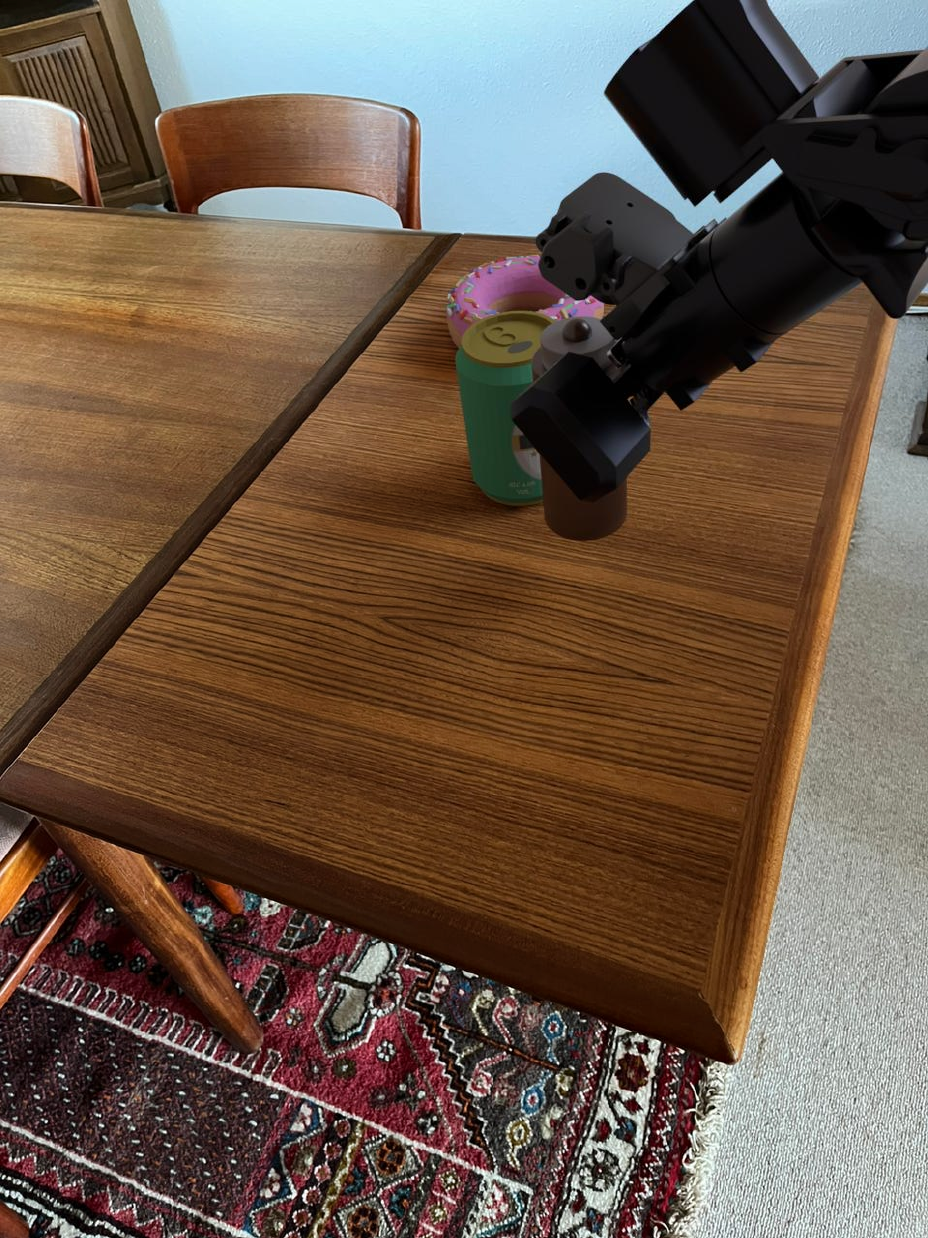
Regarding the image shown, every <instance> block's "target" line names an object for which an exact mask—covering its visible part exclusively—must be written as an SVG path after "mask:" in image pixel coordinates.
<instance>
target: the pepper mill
mask: <svg viewBox="0 0 928 1238" xmlns="http://www.w3.org/2000/svg"><path fill="white" fill-rule="evenodd" d="M600 320H601V319H599V318H595V317H587V316H579V317H570V318H566V319H562V320H559V321H557V322H554V323H552V324H551V325H549V326H548V327H547V328H545V329H544V331H543V332H542V334H541V337H540V341H541V347H540V348H539V349H538V350H537V351H536V352H535V354H534V355H533V358H532V361H531V366H532V377H533V383H534V382H535V381H536V380H537V379H538V378H539V377H540V376H541V375H542V374H543V373H545V372H546V371H547V370H548V369H549V368H550V367H551V366H552V365H554V364H555V363H556V362H557V361H558V360H559V359H561V358H562V357H563V356H564V355H565V354H566V353H568V352H573V353H577V354H581V355H585V356H589V357H593V359H594V360H595V361H596V362H597V364H598V365H599V366H600V367H601V368H602V370H603V371H604V372H605V373H606V374H607V375H608V376H609V377H610V379H611V380H612V381H613V380H614V379H615V378H616V377H617V376H618V375H619V374H620V373H621V372H622V371H623V370H624V369H625V368H626V362H625V363H624V365H623V366H621V367H620V368H618V367H616V366H615V365H614V364H613V363H612V362H611V360H610V359H609V358H608V356H607V352H608V350H609V349H610V348H611V347H613V346H614V345H615V344H616V343H617V342H618V341H617V340H615V339H614V338H613V337H612V336H611V335H610V333H609V332H608V331H607V330H606V329H605V327H604V326H603V325H602V324H601V322H600ZM539 457H540V468H541V480H542V491H543V502H542V503H543V511H544V513H543V514H544V521H545V523H546V525H547V527H548V529H550V530H551V532H553V534H556V535H557V536H559V537H561V538H564V539H567V540H569V541H576V542H590V541H591V542H592V541H597V540H600V539H603V538H607V537H609V536H610V535H612V534H614V533H615V532H617V531H619V529H621V527H622V526H623V525H624V524H625V522H626V519H627V517H628V476H627V477H626V479H625V480H624V481H623V482H622V483H621V484H620V485H619V487H618V488H617V489H616V490H614V491H612V492H610V493H609V494H607V495H605V496H604V497H602V498H600V499H598V500H597V501H595V502H593V503H592V502H586V501H580V500H579V499H578V498H577V497H576V495H575V494H574V493H573V492H572V491H571V490H570V488H569V487H568V486H567V485H566V484H565V483H564V481H563V480H562V479H561V478H560V477H559V475H558V474H557V473H556V472H555V471H554V470H553V468H552V467H551V466H550V465H549V464H548V462H547V461H546V460H545V459H544V458H543V457H542V455H540V454H539Z"/></svg>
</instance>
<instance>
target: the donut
mask: <svg viewBox="0 0 928 1238" xmlns="http://www.w3.org/2000/svg"><path fill="white" fill-rule="evenodd" d="M540 257H541V255H539V254H529V255H526V256H524V255H517V256H506V257H504V258H499V259H496V262H494V261H493V260H492V261H490V262H489V261H488V262H485V263H482V264H481V265H478V267H476V268H473V269H471V270H470V271H469V272H467V273H466V274H465V275H464V276H461V277H460V279H459V280H458V282H457V283H456V284H454V288H453V289H451V290H449V291H448V294H447V299H446V303H447V305H446V306H445V310H446V314H445V317H446V324H447V328H448V332H449V335H450V337H451V338H452V341H453V343H454V344H455V345H456V347H457V348H458V349H459V348H460V346H461V344H462V341H461V340H462V336H463V334H464V332H465V331H466V330H467V329H468V328H469V327H470V326H471V325H472V324H474V323H475V322H477V321H479V320H481V319H483V318H485V317H488V316H490V315H494V314H497V313H502V312H508V311H531V312H537V313H541V314H544V315H547V316H549V317H551V318H552V319H554V320H555V321H556V322H557V321H559V320H562V319H566V318H570V317H579V316H587V317H595V318H599V319H602V318H603V317H604V314H605V312H604V311H605V304H604V303H602V302H600V301H598V300H596V299H595V298H594V297H592V296H591V295H590V296H589V297H588V298H587V299H585V300H581V301H576V300H574V299H573V298H571V297H570V296H568V295H567V294H565V293H564V292H563V291H561V290H560V289H558V288H557V287H555V286H554V285H553V284H551V283H550V282H548V281H547V280H545V279H544V278H543V277H542V275H541V273H540V270H539V267H538V262H539V259H540Z"/></svg>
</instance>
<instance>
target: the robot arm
mask: <svg viewBox="0 0 928 1238" xmlns="http://www.w3.org/2000/svg"><path fill="white" fill-rule="evenodd" d="M603 96H604V97H605V98H606V100H607V101H608V103H609V104H610V105H611V107H613V109H614V110H615V112H616V113H617V114H618V115H619V116H620V118H621V119H622V121H623V122H624V123H625V125H626V126H627V128H628V129H629V130H630V131H631V132H632V134H633V135H634V136H635V137H636V140H638V141H639V143H640V144H641V145H642V147H643V148H644V149H645V151H646V152H647V153H648V155H649V156H650V157H651V158H652V159H653V162H654V163H656V165H657V166H658V168H659V169H660V170H661V172H662V173H663V174H664V175H665V177H666V178H667V180H669V182H670V183H671V184H672V186H673V187H674V188H675V189H676V192H678V194H679V195H680V196H681V198H682V199H683V200H684V201H686V200H688V201H689V202H690V203H691V205H692V206H693V208H696V207H697V206H699V204H700V203H702V202H703V201H704V200H705V199H706V198H707V197H708V196H709V195H710V194H711V193H713V194H712V195H713V196H714V198H715V199H716V201H717V202H718V203H719V204H722V203H723V202H724V201H726V200H727V199H728V198H729V197H730V196H731V195H733V194H734V193H735V192H736V191H737V190H738V189H740V187H742V186H744V184H745V183H746V182H747V181H749V180H750V179H751V178H752V177H753V176H754V175H755V174H757V173H758V172H759V171H760V170H761V169H762V168H764V167H765V166H766V165H767V164H769V162H770V161H771V160H773V161H774V162H775V164H776V165H777V167H778V168H779V169H780V171H781V172H780V173H779V174H778V175H777V176H776V177H774V178H773V179H772V180H771V181H770V182H768V183H767V184H766V185H765V186H763V187H762V188H761V189H760V190H759V191H758V192H757V193H755V194H754V195H753V196H752V197H751V198H749V199H748V200H747V201H746V202H745V203H744V204H742V205H741V206H740V207H739V208H738V209H736V210H735V211H734V212H733V213H732V214H731V215H729V216H728V217H724V218H723V219H722V220H721V221H719V222H718V221H717V220H716V218H713V219H712V220H711V221H710V222H708V223H707V224H706V225H702V226H700V228H698V229H697V230H696V231H695V232H692V231H691V230H689V229H688V228H687V227H686V226H685V225H684V224H683V223H681V222H680V221H678V220H677V218H676V217H675V215H674V213H673V212H672V211H670V210H669V209H668V208H666V207H665V206H664V205H662V204H660V203H659V202H658V201H655V199H653V198H652V197H650V196H648V195H647V194H645V193H644V192H642V191H641V190H639V188H637V187H636V186H634V185H632V184H630V183H629V182H627V181H626V180H625V179H623V178H622V177H620V176H619V175H616V174H614V173H610V172H603V171H601V172H597V173H595V174H593V175H592V176H590V177H589V178H588V179H587V180H585V182H583V183H581V184H580V185H579V186H578V187H577V188H575V189H573V191H571V192H570V193H569V194H567V195H566V196H564V197H563V198H562V199H561V201H560V203H559V206H558V209H557V211H556V214H554V215H553V216H552V217H551V219H550V222H549V224H548V226H547V227H546V228H545V229H543V230H542V231H541V232H539V234H537V235H536V236H535V245H536V248H537V250H538V251H539V252H540V253H541V254H540V256H541V257H540V259H539V262H538V267H539V270H540V273H541V275H542V277H543V278H544V279H545V280H547V281H548V282H550V283H551V284H553V285H554V286H555V287H557V288H558V289H560V290H561V291H563V292H564V293H565V294H567V295H568V296H570V297H571V298H573V299H574V300H576V301H581V300H585V299H587V298H588V297H589V296H590V295H591V296H592V297H594V298H595V299H596V300H598V301H600V302H602V303H604V305H608V306H615V307H613V308H612V309H611V310H610V311H609V312H608V313H606V314H605V315H603V318H602V319H601V320H600V322H601V324H602V325H603V326H604V327H605V329H606V330H607V331H608V332H609V333H610V335H611V336H612V337H613V338H614V339H615V341H616V342H617V343H616V344H615V345H614V346H613V347H611V348H610V349H609V350H608V352H607V356H608V358H609V359H610V360H611V362H612V363H613V364H614V365H615V366H616V367H618V368H620V367H621V366H623V365H624V363H625V362H626V368H625V369H624V370H623V371H622V372H621V373H620V374H619V375H618V376H617V377H616V378H615V379H614V380H613V381H612V380H611V379H610V377H609V376H608V375H607V374H606V373H605V372H604V371H603V370H602V368H601V367H600V366H599V365H598V364H597V362H596V361H595V360H594V359H593V357H589V356H585V355H581V354H577V353H573V352H568V353H566V354H565V355H564V356H563V357H562V358H561V359H559V360H558V361H557V362H556V363H555V364H554V365H552V366H551V367H550V368H549V369H548V370H547V371H546V372H545V373H543V374H542V375H541V376H540V377H539V378H538V379H537V380H536V381H535V382H534V383H533V384H531V385H530V386H529V387H528V388H527V389H526V390H525V391H524V392H523V393H522V394H521V395H520V396H519V397H518V398H516V399H515V400H514V401H513V402H512V403H511V404H510V411H511V420H512V421H513V422H514V424H515V425H516V426H517V427H518V428H519V430H520V431H521V432H522V433H523V434H524V435H525V437H526V438H527V439H528V440H529V441H530V444H531V445H532V446H533V447H534V449H535V450H536V451H537V452H538V453H539V454H540V455H542V457H543V458H544V459H545V460H546V461H547V462H548V464H549V465H550V466H551V467H552V468H553V470H554V471H555V472H556V473H557V474H558V475H559V477H560V478H561V479H562V480H563V481H564V483H565V484H566V485H567V486H568V487H569V488H570V490H571V491H572V492H573V493H574V494H575V495H576V497H577V498H578V499H579V500H580V501H586V502H592V503H593V502H595V501H597V500H598V499H600V498H602V497H604V496H605V495H607V494H609V493H610V492H612V491H614V490H616V489H617V488H618V487H619V485H620V484H621V483H622V482H623V481H624V480H625V479H626V477H627V478H628V477H629V475H630V474H631V473H632V472H633V471H634V469H636V468H637V466H638V465H639V464H640V463H641V462H642V461H643V459H644V458H645V457H646V456H647V455H648V454H649V452H651V432H652V431H651V424H652V423H651V418H650V415H649V411H650V410H651V408H652V407H653V406H654V405H655V404H656V403H657V402H658V401H659V400H660V399H661V398H662V396H664V394H665V393H666V395H667V396H668V397H669V398H670V400H671V401H672V402H673V403H674V405H675V406H676V407H677V409H678V410H679V411H680V412H682V411H684V410H685V409H687V408H688V407H690V406H691V405H693V404H694V403H696V402H697V400H698V399H699V398H700V397H701V396H702V395H703V394H704V392H705V391H706V390H707V389H708V388H709V386H711V384H712V383H713V382H714V381H715V380H717V379H718V378H720V377H721V376H723V375H724V374H726V373H727V372H729V371H730V370H732V369H734V368H736V369H737V371H739V373H740V374H741V373H743V372H744V371H746V370H748V369H749V368H751V367H752V366H754V365H755V364H757V363H758V362H759V361H760V360H761V358H762V357H763V356H764V355H765V354H766V352H768V350H769V349H770V347H772V345H773V344H774V343H775V342H776V341H777V340H778V339H779V338H781V337H783V336H784V335H786V334H788V333H789V332H791V331H792V330H793V329H795V328H797V327H799V325H801V324H803V323H804V322H806V321H807V320H809V319H810V318H812V317H813V316H815V315H816V314H818V313H819V312H821V311H822V310H824V309H825V308H827V307H829V306H830V305H832V304H833V303H835V302H836V301H839V300H840V299H841V298H842V297H844V296H845V295H847V294H849V293H850V292H852V291H853V290H855V289H857V288H858V287H859V286H861V285H862V284H864V285H865V287H866V288H867V289H868V291H869V292H870V293H871V295H872V296H873V297H874V299H875V300H876V301H877V303H878V304H879V306H880V307H881V308H882V310H883V311H884V312H885V314H886V315H887V316H888V317H889V318H890V319H893V320H898V319H901V318H903V317H904V316H905V315H906V314H907V313H908V311H909V310H910V308H911V307H912V306H913V305H914V303H915V301H917V299H918V297H919V296H920V295H921V293H922V292H923V290H925V288H926V286H927V285H928V46H926V48H923V49H916V50H906V51H897V52H895V51H894V52H885V53H884V52H883V53H873V54H865V55H863V54H862V55H853V56H846V57H843V58H842V59H840V60H839V61H838V62H836V63H835V64H834V65H833V66H832V67H831V68H830V69H828V70H827V71H826V72H825V73H824V74H823V75H822V76H821V77H820V76H819V75H818V74H817V72H816V70H815V69H814V68H813V67H812V65H811V64H810V62H809V61H808V60H807V58H806V57H805V55H804V54H803V52H801V50H800V48H799V47H798V45H797V44H796V43H795V41H794V40H793V38H792V37H791V36H790V34H789V33H788V31H786V29H785V27H784V26H783V25H782V23H781V22H780V21H779V19H778V18H777V17H776V15H775V13H774V12H773V11H772V8H771V7H770V5H769V3H768V0H692V1H691V2H690V3H688V4H687V5H686V6H685V7H684V8H683V9H681V11H679V13H677V14H676V15H675V16H674V17H673V18H672V19H671V20H670V21H669V22H668V23H667V24H666V25H665V26H664V27H663V28H662V29H661V30H660V31H659V32H658V33H657V34H656V35H655V36H653V37H652V38H651V39H649V40H647V41H646V42H644V43H642V44H641V45H640V46H638V47H636V49H635V50H633V52H631V54H630V55H629V56H628V58H627V59H626V60H625V61H624V62H623V64H621V66H620V67H619V69H617V71H616V72H615V73H614V74H613V76H612V78H610V80H609V82H608V83H607V85H606V87H605V89H604V90H603ZM629 398H630V399H629Z"/></svg>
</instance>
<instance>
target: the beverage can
mask: <svg viewBox="0 0 928 1238" xmlns="http://www.w3.org/2000/svg"><path fill="white" fill-rule="evenodd" d="M554 322H556V321H555V320H554V319H552V318H551V317H549V316H547V315H544V314H541V313H537V311H533V312H531V311H508V312H502V313H497V314H494V315H490V316H488V317H485V318H483V319H481V320H479V321H477V322H475V323H474V324H472V325H471V326H470V327H469V328H468V329H467V330H466V331H465V332H464V334H463V336H462V340H461V341H462V344H461V346H460V348H458V350H457V352H456V354H455V358H454V360H455V361H454V362H455V368H456V376H457V380H458V381H457V382H458V389H459V397H460V403H461V410H462V416H463V417H462V418H463V423H464V431H465V437H466V445H467V451H468V458H469V463H470V464H469V465H470V473H471V476H472V479H473V481H474V482H475V484H476V485H477V486H478V487H479V488H480V490H481V491H482V492H483V494H484V495H485V496H486V497H487V498H489V499H490V500H492V501H494V502H496V503H499V504H502V505H507V506H515V507H526V506H527V507H528V506H533V505H537V504H541V503H543V491H542V480H541V468H540V457H539V453H538V452H537V451H536V450H535V449H534V447H533V446H532V445H531V444H530V441H529V440H528V439H527V438H526V437H525V435H524V434H523V433H522V432H521V431H520V430H519V428H518V427H517V426H516V425H515V424H514V422H513V421H512V420H511V411H510V404H511V403H512V402H513V401H514V400H515V399H516V398H518V397H519V396H520V395H521V394H522V393H523V392H524V391H525V390H526V389H527V388H528V387H529V386H530V385H531V384H533V377H532V366H531V361H532V358H533V355H534V354H535V352H536V351H537V350H538V349H539V348H540V347H541V341H540V337H541V334H542V332H543V331H544V329H545V328H547V327H548V326H549V325H551V324H552V323H554Z"/></svg>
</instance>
